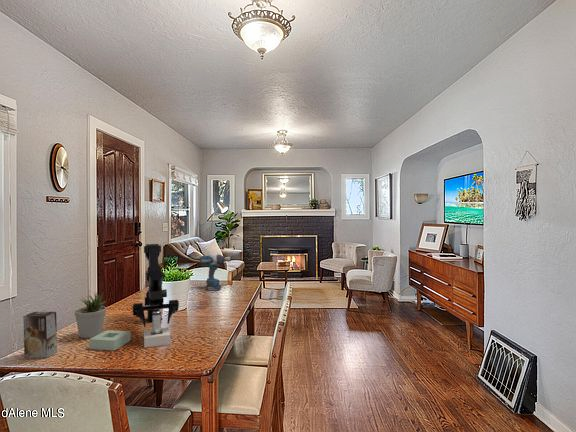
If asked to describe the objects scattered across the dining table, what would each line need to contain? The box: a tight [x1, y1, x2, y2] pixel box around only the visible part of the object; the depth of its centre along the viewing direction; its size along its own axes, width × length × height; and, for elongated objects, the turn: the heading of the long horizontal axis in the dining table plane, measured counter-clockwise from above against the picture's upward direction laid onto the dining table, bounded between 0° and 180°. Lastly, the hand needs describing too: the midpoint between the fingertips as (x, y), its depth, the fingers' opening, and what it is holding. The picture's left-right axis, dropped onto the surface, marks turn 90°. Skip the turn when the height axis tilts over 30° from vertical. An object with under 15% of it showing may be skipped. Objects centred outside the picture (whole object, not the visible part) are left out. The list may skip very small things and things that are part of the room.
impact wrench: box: [198, 253, 232, 292], centre depth 250 cm, size 8×23×25 cm, turn 89°
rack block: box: [88, 329, 132, 351], centre depth 148 cm, size 11×11×4 cm
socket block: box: [143, 327, 171, 349], centre depth 150 cm, size 10×10×4 cm
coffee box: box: [22, 311, 58, 359], centre depth 137 cm, size 9×6×16 cm
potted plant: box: [73, 291, 107, 339], centre depth 158 cm, size 13×14×20 cm
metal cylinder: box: [151, 309, 162, 335], centre depth 150 cm, size 4×4×13 cm
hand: (156, 325), depth 150 cm, fingers open, 9 cm apart
